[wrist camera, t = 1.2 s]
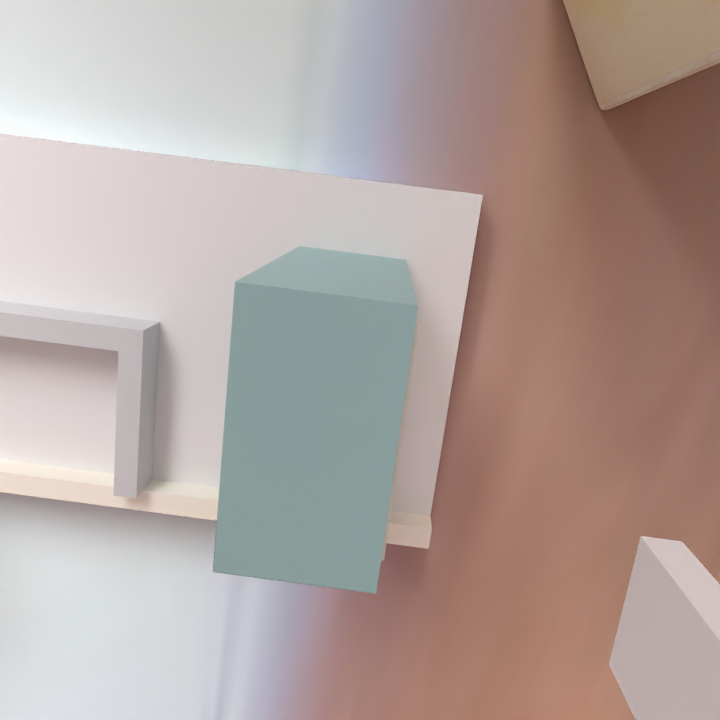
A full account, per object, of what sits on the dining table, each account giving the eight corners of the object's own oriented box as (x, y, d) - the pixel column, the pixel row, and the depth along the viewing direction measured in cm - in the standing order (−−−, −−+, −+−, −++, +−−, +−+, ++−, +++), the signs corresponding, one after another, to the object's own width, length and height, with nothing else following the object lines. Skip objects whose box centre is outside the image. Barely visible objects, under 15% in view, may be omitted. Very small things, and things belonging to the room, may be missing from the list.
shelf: (-342, 91, 29) (-440, 77, 25) (478, 194, 28) (490, 194, 25) (-297, 434, 33) (-377, 461, 29) (423, 529, 32) (428, 568, 29)
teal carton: (279, 424, 30) (208, 571, 18) (296, 245, 28) (229, 281, 16) (384, 437, 30) (380, 594, 18) (408, 260, 28) (423, 306, 16)
